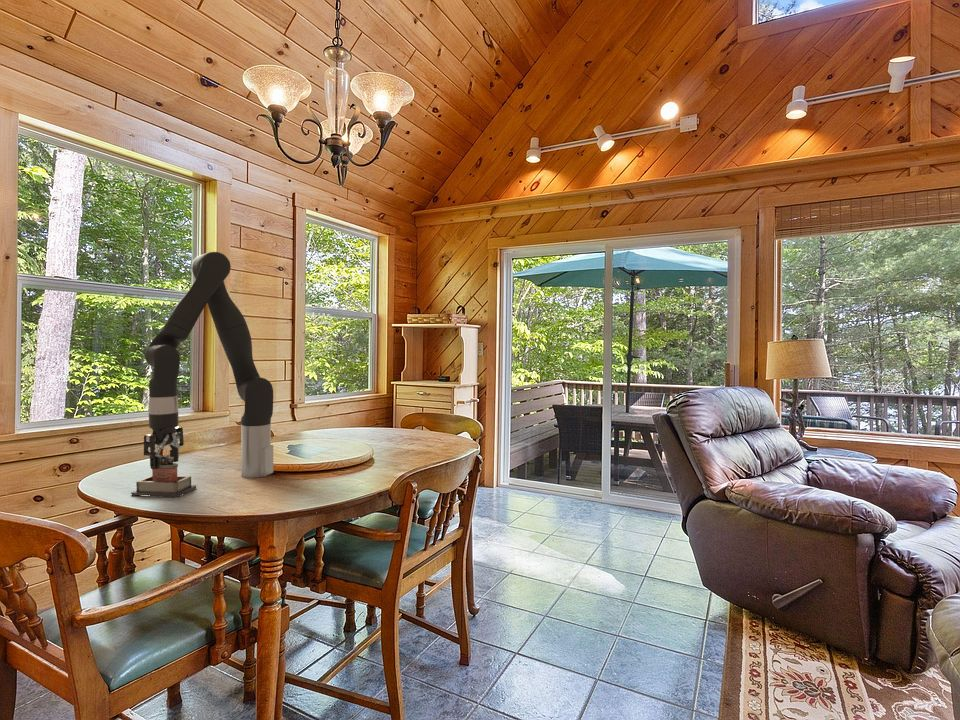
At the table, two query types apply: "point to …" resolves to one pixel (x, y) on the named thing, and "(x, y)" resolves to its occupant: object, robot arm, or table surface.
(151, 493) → the rectangular tray
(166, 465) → the lighter
